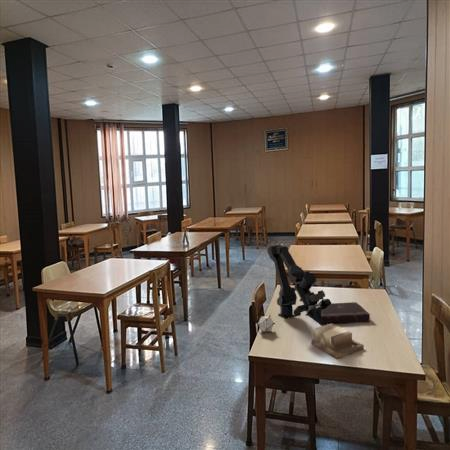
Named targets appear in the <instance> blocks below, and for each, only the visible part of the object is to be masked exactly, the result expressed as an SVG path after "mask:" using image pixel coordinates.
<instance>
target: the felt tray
mask: <svg viewBox="0 0 450 450" xmlns="http://www.w3.org/2000/svg"><path fill="white" fill-rule="evenodd" d="M310 341H311V343H310V344H311V345H312V346H314V347H315V348H317V349H319V350H320V351H323V352H324V353H326V354H328V355H329V356H331V357H333V358H335V359H336V360H338V359H340V358H343V357H346V356H348V355H351V354H354V353H356V352H359V351H363V350H364V348H365V344H362V343H360V342H358V341H356V340H354V339H352V346H351V347H348V348H345V349H343V350H340V351H337V352H335V351H333V350H331V349H329V348H328V347H326V346H324V345H322V344H320V343H319V342H317V341H315V339H311V340H310Z"/></svg>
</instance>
